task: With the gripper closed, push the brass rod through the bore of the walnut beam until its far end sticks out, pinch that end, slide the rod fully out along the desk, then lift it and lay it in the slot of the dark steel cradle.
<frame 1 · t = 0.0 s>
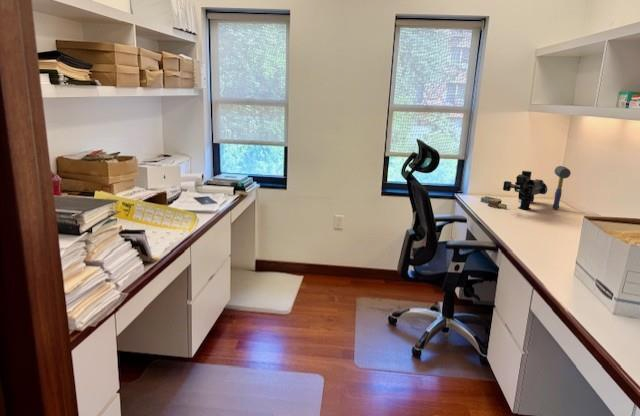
hand: (512, 189, 277), 17 cm above the table, tool horizontal, fingers open, 9 cm apart
walnut beam: (494, 206, 301), on the table
brass rod: (497, 207, 299), on the table
candy bar box: (525, 202, 319), on the table
rubber mallet: (555, 209, 301), on the table
steel cradle: (490, 202, 312), on the table
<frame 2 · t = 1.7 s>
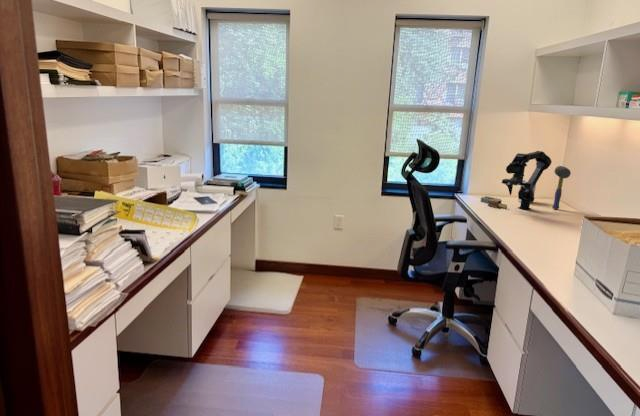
hand: (515, 195, 290), 10 cm above the table, tool pointing down, fingers open, 6 cm apart
brass rod: (497, 207, 299), on the table, tilted 10°
everything else where it was.
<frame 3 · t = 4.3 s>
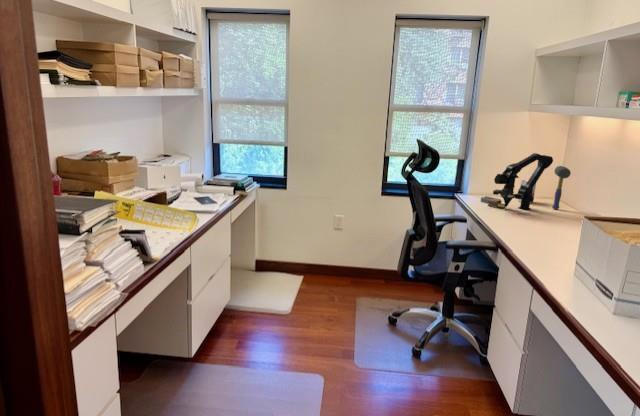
hand: (506, 206, 295), 2 cm above the table, tool pointing down, fingers closed
brass rod: (496, 206, 300), on the table, tilted 18°, touching gripper
everything else where it was.
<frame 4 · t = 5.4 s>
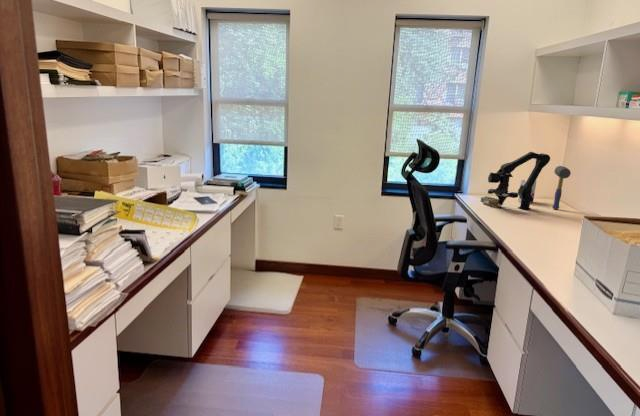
hand: (501, 205, 297), 2 cm above the table, tool pointing down, fingers closed
brass rod: (491, 206, 302), on the table, tilted 17°
everything else where it was.
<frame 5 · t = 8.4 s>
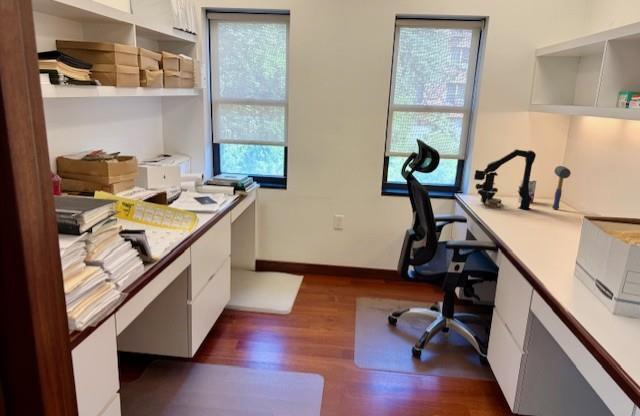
hand: (486, 202, 305), 1 cm above the table, tool pointing down, fingers open, 7 cm apart
brass rod: (491, 206, 302), on the table, tilted 10°
everything else where it was.
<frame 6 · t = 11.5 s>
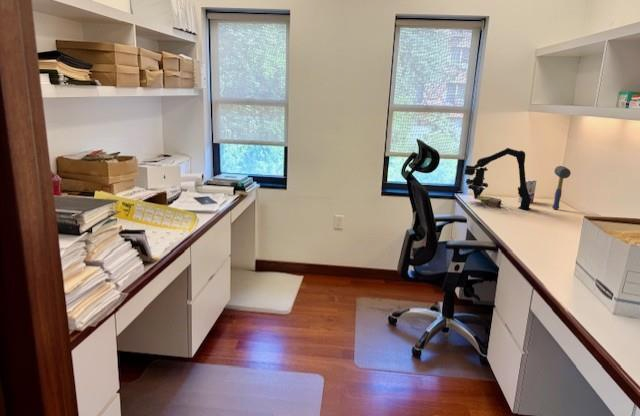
hand: (476, 197, 310), 3 cm above the table, tool pointing down, fingers closed on brass rod, 3 cm apart
brass rod: (482, 200, 307), point 2 cm above the table, touching gripper
everything else where it was.
when the fingers open (5 cm above the table, at t = 14.2 s): brass rod drops 1 cm, resting on steel cradle.
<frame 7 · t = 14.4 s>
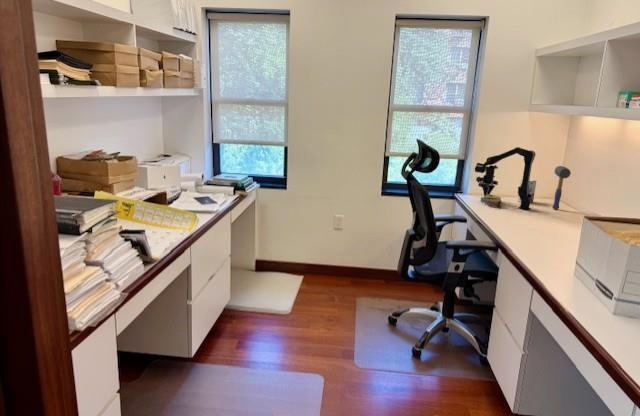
hand: (486, 195, 313), 5 cm above the table, tool pointing down, fingers open, 5 cm apart
brass rod: (491, 199, 311), point 3 cm above the table, touching steel cradle
everything else where it was.
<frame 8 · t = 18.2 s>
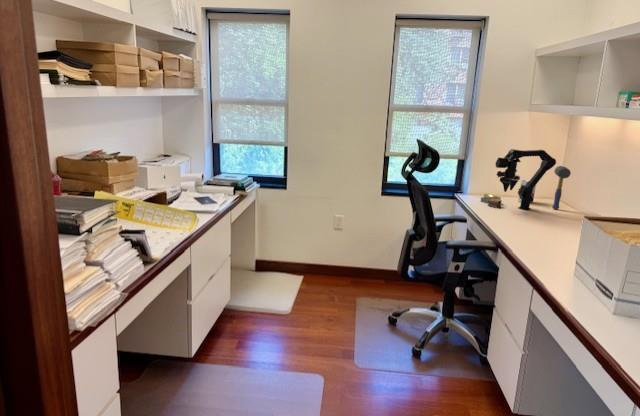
hand: (508, 191, 294), 12 cm above the table, tool pointing down, fingers open, 9 cm apart
nothing on the table moved.
at the end: brass rod 0.7 cm off-centre on the steel cradle, point 2.6 cm above the steel cradle's base; brass rod touching steel cradle; the gripper is holding nothing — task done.
